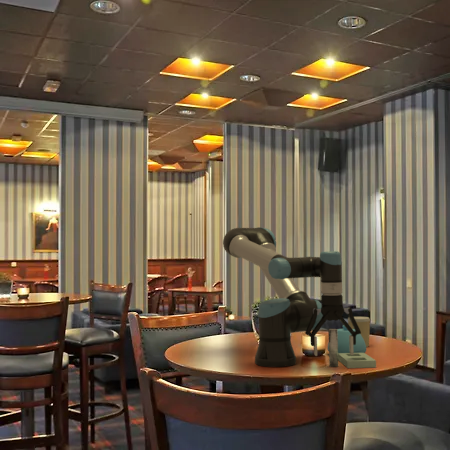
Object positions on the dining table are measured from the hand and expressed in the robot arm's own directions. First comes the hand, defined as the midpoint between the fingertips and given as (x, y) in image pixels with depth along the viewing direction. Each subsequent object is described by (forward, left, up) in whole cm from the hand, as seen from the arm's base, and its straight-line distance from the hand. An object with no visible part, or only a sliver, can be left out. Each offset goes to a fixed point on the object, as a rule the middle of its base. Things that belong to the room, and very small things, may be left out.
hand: (333, 354), depth 214 cm
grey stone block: (0, 0, -4) cm, 4 cm away
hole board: (+9, +4, -4) cm, 10 cm away
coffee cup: (+20, +41, -4) cm, 46 cm away
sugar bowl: (+10, +22, -4) cm, 25 cm away
